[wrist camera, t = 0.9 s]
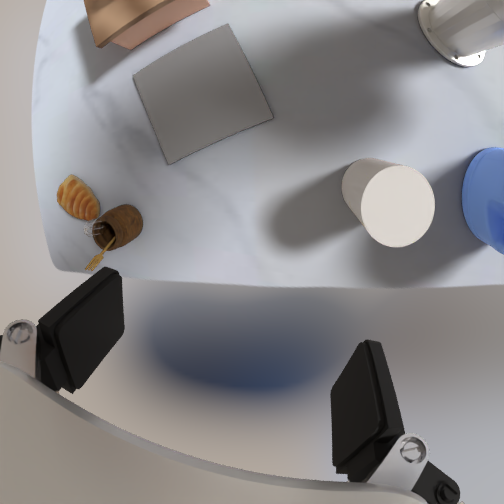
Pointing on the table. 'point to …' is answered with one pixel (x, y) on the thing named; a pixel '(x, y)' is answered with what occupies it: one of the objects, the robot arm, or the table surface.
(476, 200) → the water jug
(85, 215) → the pastry
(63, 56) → the table surface
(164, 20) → the pink open box
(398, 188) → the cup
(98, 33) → the lid
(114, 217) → the utensil holder
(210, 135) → the mat
